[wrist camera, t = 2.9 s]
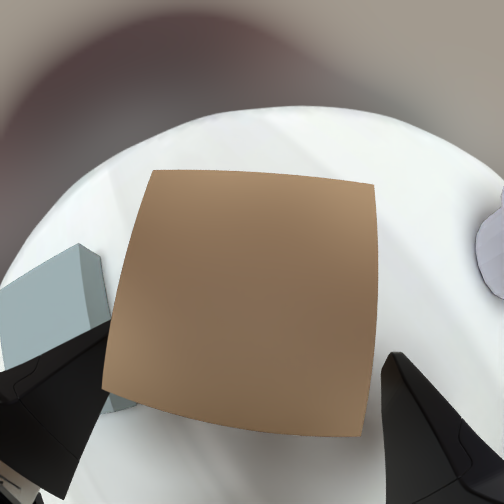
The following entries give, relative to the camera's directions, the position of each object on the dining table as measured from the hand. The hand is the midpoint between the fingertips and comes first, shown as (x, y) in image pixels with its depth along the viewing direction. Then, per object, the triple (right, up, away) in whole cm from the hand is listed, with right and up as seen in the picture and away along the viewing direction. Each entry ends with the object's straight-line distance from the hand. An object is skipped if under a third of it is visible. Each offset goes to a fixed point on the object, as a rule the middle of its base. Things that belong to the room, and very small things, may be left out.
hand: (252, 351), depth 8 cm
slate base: (-16, -5, +9) cm, 19 cm away
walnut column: (+1, -2, +9) cm, 9 cm away
